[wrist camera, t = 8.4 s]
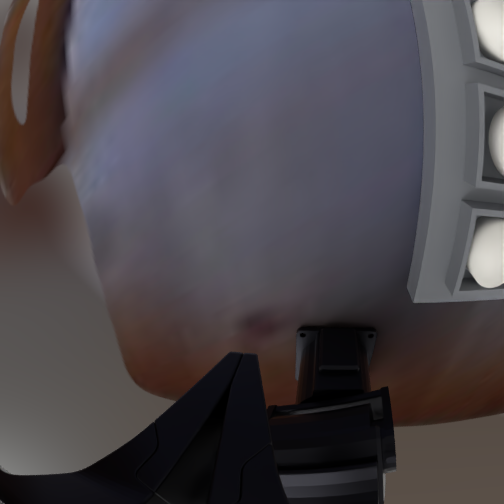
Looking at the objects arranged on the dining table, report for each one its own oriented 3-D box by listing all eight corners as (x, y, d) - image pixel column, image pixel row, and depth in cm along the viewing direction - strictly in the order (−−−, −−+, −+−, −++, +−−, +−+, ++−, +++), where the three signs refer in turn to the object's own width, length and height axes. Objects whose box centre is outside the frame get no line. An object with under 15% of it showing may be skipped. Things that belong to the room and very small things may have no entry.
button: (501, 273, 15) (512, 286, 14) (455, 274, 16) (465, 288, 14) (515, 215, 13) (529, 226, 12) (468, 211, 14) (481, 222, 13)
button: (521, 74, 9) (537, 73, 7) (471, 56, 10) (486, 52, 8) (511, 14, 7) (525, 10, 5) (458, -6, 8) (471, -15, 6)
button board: (505, 284, 17) (524, 309, 14) (406, 287, 19) (418, 317, 16) (516, 6, 7) (541, -2, 4) (401, -33, 9) (416, -56, 6)
